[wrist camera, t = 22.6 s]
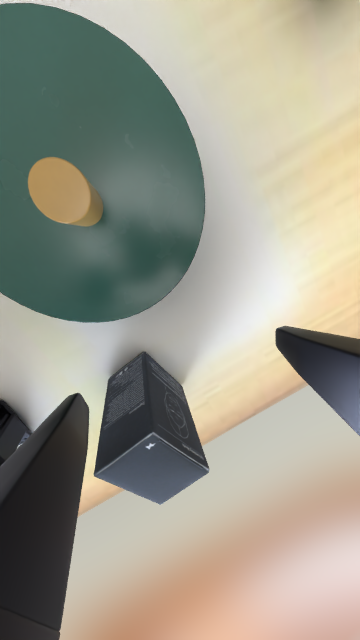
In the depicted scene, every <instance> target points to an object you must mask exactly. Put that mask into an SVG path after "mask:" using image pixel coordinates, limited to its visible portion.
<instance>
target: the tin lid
mask: <svg viewBox="0 0 360 640" xmlns="http://www.w3.org/2000/svg"><path fill="white" fill-rule="evenodd" d="M204 214H205V190H204V178H203V173H202V168H201V162H200V158H199V154H198V151H197V148H196V145H195V141H194V138H193V136H192V133H191V131H190V129H189V126H188V124H187V122H186V119H185V117H184V115H183V114H182V112H181V110H180V108H179V106H178V104H177V103H176V101H175V99H174V97H173V96H172V95H171V93H170V92H169V90H168V89H167V87H166V86H165V85H164V83H163V82H162V80H161V79H160V78H159V77H158V75H157V74H156V73H155V72H154V71H153V70H152V69H151V67H150V66H149V65H148V64H147V63H146V62H145V61H144V60H143V59H142V58H141V57H140V56H139V55H138V54H137V53H136V52H135V51H134V50H132V49H131V48H130V47H129V46H128V45H127V44H126V43H125V42H123V41H122V40H120V39H119V38H118V37H116V36H115V35H113V34H112V33H110V32H109V31H108V30H106V29H105V28H103V27H101V26H99V25H97V24H95V23H93V22H92V21H90V20H88V19H86V18H84V17H82V16H80V15H77V14H74V13H71V12H68V11H65V10H62V9H59V8H56V7H51V6H45V5H39V4H33V3H6V4H1V5H0V292H1V293H2V294H4V295H5V296H7V297H9V298H10V299H12V300H14V301H16V302H17V303H19V304H21V305H23V306H25V307H27V308H30V309H32V310H34V311H36V312H39V313H42V314H45V315H48V316H51V317H54V318H59V319H63V320H68V321H76V322H92V323H99V322H108V321H115V320H119V319H123V318H127V317H130V316H133V315H135V314H138V313H140V312H142V311H144V310H146V309H148V308H150V307H151V306H153V305H154V304H156V303H157V302H159V301H160V300H162V299H163V298H164V297H165V296H166V295H167V294H168V293H170V292H171V291H172V290H173V288H174V287H175V286H176V285H177V284H178V283H179V282H180V280H181V279H182V277H183V276H184V274H185V273H186V271H187V270H188V268H189V266H190V264H191V262H192V260H193V258H194V256H195V253H196V250H197V248H198V245H199V241H200V237H201V233H202V229H203V222H204Z"/></svg>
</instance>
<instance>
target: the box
mask: <svg viewBox="0 0 360 640" xmlns="http://www.w3.org/2000/svg"><path fill="white" fill-rule="evenodd" d="M208 472H209V466H208V463H207V461H206V458H205V455H204V452H203V449H202V446H201V443H200V439H199V437H198V433H197V431H196V427H195V424H194V421H193V418H192V415H191V412H190V409H189V406H188V403H187V400H186V397H185V394H184V391H183V388H182V386H181V385H180V384H179V383H178V382H177V381H176V380H175V379H174V378H172V377H171V376H170V375H169V374H168V373H167V372H166V371H165V370H164V369H163V368H162V367H161V366H160V365H159V364H158V363H156V362H155V361H154V360H153V359H152V358H151V357H150V356H149V355H148V354H147V353H146V352H143V353H142V354H140V355H139V356H138V357H136V358H135V359H133V360H132V361H131V362H130V363H128V364H127V365H126V366H124V367H123V368H122V369H121V370H119V371H118V372H117V373H115V374H114V375H113V376H111V377H110V378H109V380H108V386H107V392H106V398H105V405H104V411H103V418H102V424H101V431H100V437H99V443H98V451H97V457H96V465H95V471H94V476H95V477H97V478H99V479H102V480H104V481H106V482H109V483H111V484H113V485H116V486H118V487H120V488H123V489H125V490H127V491H130V492H132V493H135V494H137V495H139V496H141V497H144V498H146V499H149V500H151V501H153V502H156V503H158V504H162V503H164V502H165V501H167V500H168V499H170V498H171V497H173V496H174V495H176V494H177V493H179V492H180V491H182V490H183V489H185V488H186V487H188V486H189V485H191V484H192V483H194V482H195V481H197V480H198V479H200V478H201V477H203V476H204V475H206V474H207V473H208Z"/></svg>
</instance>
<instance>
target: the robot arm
mask: <svg viewBox="0 0 360 640" xmlns="http://www.w3.org/2000/svg"><path fill="white" fill-rule="evenodd" d="M276 346H277V348H278V350H279V351H280V352H281V353H282V354H283V356H284V357H285V358H286V359H287V361H288V362H289V363H290V364H291V366H292V367H293V368H294V369H295V370H296V372H297V373H298V374H299V375H300V376H301V377H302V378H303V379H304V380H305V381H306V382H307V383H308V384H309V385H310V386H311V387H312V388H313V389H314V390H315V391H316V392H317V393H318V394H319V395H320V396H321V397H322V398H323V399H324V400H325V401H326V402H327V403H328V404H329V405H330V406H331V407H332V408H333V409H334V410H335V411H336V413H337V414H338V415H339V416H340V417H341V418H342V419H344V420H345V422H346V423H347V424H348V425H349V426H350V427H351V428H352V429H353V430H354V431H356V433H357V434H358V435H359V436H360V339H356V338H351V337H345V336H339V335H334V334H328V333H323V332H317V331H311V330H306V329H300V328H294V327H289V326H283V327H280V328H277V329H276ZM88 429H89V407H88V405H87V403H86V402H85V400H84V399H83V397H82V395H81V394H80V393H76V394H73V395H70V396H68V397H67V398H66V399H65V400H64V401H63V402H62V403H61V404H60V405H59V406H58V407H57V408H56V409H55V410H54V411H53V412H52V413H51V414H50V416H49V417H48V418H47V419H46V420H45V421H44V422H43V423H42V424H41V425H40V426H39V427H38V428H37V429H36V430H35V431H34V432H33V433H31V432H30V431H29V429H28V428H27V427H26V426H25V425H24V424H23V422H22V421H21V420H20V419H19V418H18V417H17V415H16V414H15V413H14V412H13V411H12V410H11V408H10V407H9V406H8V405H7V404H6V403H5V402H4V401H2V400H0V640H59V637H60V632H59V631H60V628H61V622H62V615H63V609H64V602H65V596H66V588H67V582H68V576H69V569H70V563H71V556H72V549H73V543H74V536H75V529H76V523H77V516H78V509H79V503H80V496H81V489H82V483H83V476H84V470H85V463H86V456H87V449H88ZM20 444H22V445H21V446H20V447H19V448H18V449H17V447H18V445H20ZM16 449H17V450H16Z"/></svg>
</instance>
